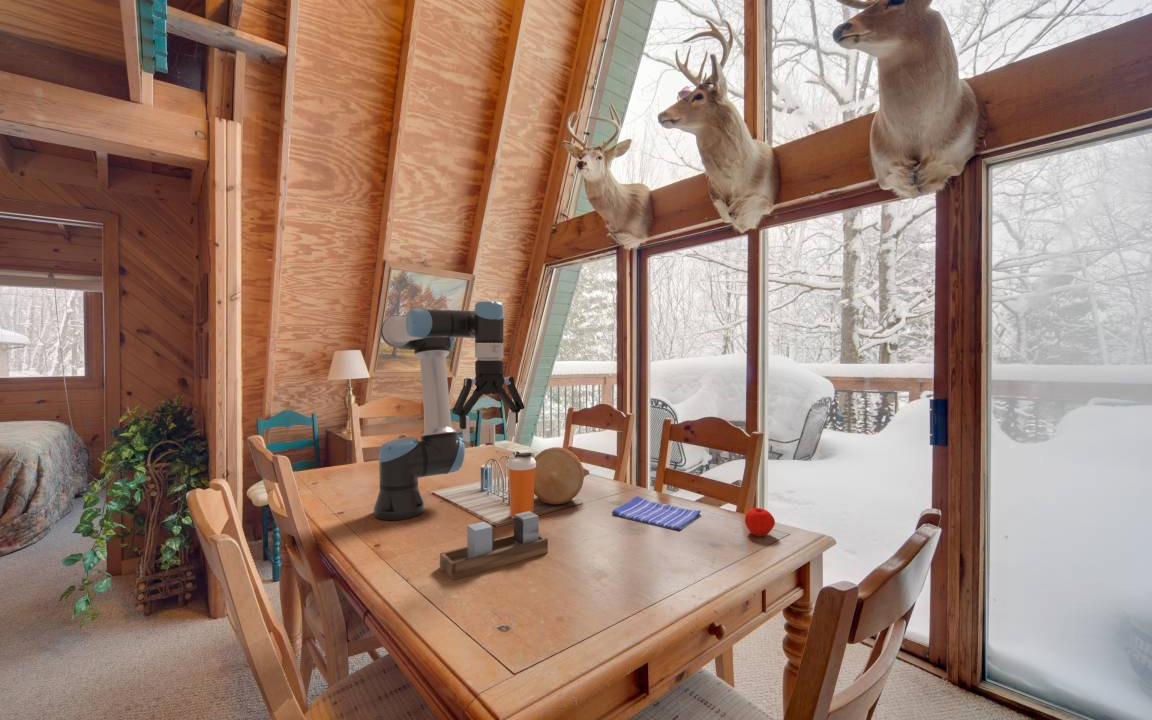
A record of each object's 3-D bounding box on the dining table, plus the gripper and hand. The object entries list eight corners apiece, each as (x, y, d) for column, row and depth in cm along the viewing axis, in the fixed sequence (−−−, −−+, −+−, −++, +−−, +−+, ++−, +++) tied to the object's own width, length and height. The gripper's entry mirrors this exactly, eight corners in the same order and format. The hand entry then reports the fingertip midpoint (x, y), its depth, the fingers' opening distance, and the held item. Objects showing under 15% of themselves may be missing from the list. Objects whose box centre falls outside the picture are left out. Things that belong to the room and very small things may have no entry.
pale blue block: (467, 557, 125) (467, 525, 125) (486, 552, 128) (486, 521, 128) (475, 563, 122) (475, 530, 122) (494, 558, 125) (494, 526, 125)
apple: (778, 534, 145) (779, 508, 145) (767, 542, 139) (767, 515, 139) (751, 527, 150) (752, 502, 150) (739, 534, 145) (740, 508, 144)
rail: (439, 567, 123) (439, 528, 123) (531, 542, 139) (531, 508, 138) (452, 579, 117) (452, 539, 116) (547, 552, 132) (547, 516, 132)
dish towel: (636, 502, 175) (636, 494, 175) (702, 516, 161) (702, 507, 161) (609, 516, 161) (609, 507, 161) (679, 533, 147) (679, 523, 147)
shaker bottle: (531, 522, 154) (531, 456, 154) (503, 520, 156) (503, 455, 155) (539, 512, 163) (539, 450, 162) (512, 510, 165) (512, 449, 164)
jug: (513, 474, 164) (519, 463, 194) (549, 522, 164) (549, 503, 194) (562, 436, 166) (560, 431, 196) (598, 483, 166) (590, 471, 195)
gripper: (450, 360, 126) (451, 446, 126) (536, 359, 140) (536, 435, 141) (439, 359, 132) (439, 441, 132) (522, 358, 146) (522, 431, 147)
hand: (489, 438), depth 137 cm, fingers open, 13 cm apart
